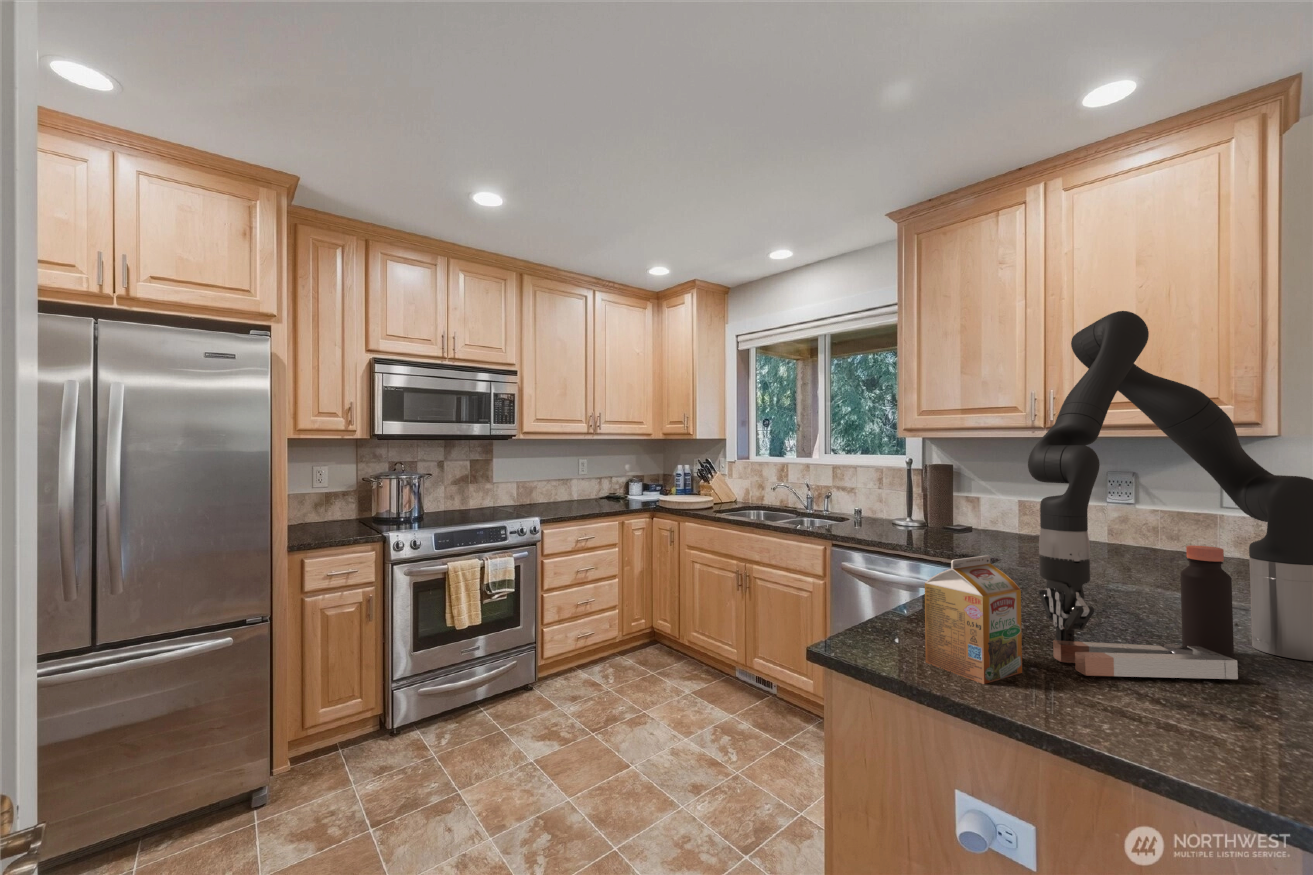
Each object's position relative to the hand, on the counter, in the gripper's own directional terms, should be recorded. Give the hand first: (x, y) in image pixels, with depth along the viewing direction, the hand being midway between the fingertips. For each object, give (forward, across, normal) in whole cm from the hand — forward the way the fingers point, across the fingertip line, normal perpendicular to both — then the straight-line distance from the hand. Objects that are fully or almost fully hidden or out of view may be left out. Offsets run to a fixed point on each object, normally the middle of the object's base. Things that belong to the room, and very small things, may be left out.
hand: (1065, 649), depth 101 cm
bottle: (+2, -4, +26) cm, 27 cm away
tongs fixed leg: (+1, +6, +9) cm, 11 cm away
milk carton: (+2, +7, -19) cm, 20 cm away
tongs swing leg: (+1, +3, +7) cm, 8 cm away
